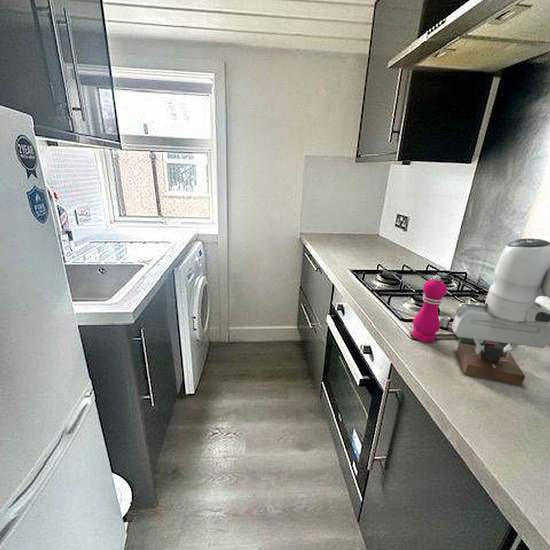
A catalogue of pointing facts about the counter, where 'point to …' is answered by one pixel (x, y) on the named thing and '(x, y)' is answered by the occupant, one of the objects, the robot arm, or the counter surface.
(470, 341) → the dispenser
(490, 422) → the counter surface
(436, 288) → the pepper mill
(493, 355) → the lock dial
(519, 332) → the robot arm
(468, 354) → the lock base
